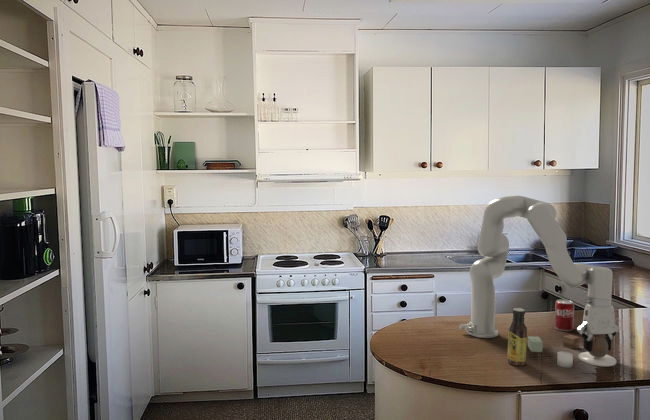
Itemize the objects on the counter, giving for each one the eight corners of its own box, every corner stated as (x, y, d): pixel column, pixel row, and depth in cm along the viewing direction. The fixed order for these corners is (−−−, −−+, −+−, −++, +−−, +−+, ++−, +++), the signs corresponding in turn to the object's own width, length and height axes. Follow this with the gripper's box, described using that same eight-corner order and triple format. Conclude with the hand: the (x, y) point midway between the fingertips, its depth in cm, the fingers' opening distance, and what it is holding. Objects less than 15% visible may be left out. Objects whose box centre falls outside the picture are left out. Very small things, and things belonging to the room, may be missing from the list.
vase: (605, 353, 186) (606, 330, 185) (609, 360, 179) (610, 336, 178) (584, 351, 188) (585, 328, 187) (587, 357, 181) (589, 334, 181)
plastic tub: (562, 368, 177) (562, 357, 177) (554, 362, 182) (554, 351, 181) (575, 367, 178) (576, 356, 177) (567, 361, 183) (567, 350, 182)
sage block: (531, 351, 193) (531, 341, 192) (527, 346, 199) (528, 336, 198) (542, 352, 192) (542, 342, 192) (538, 346, 198) (538, 336, 197)
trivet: (592, 367, 177) (593, 365, 177) (571, 354, 189) (571, 352, 189) (624, 365, 178) (624, 363, 178) (601, 352, 190) (601, 350, 190)
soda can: (575, 332, 214) (576, 304, 213) (556, 331, 215) (557, 303, 214) (570, 326, 221) (571, 299, 220) (552, 325, 223) (553, 298, 221)
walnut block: (572, 349, 195) (572, 339, 194) (563, 346, 198) (563, 336, 198) (578, 347, 196) (579, 337, 196) (569, 344, 200) (570, 334, 200)
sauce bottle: (504, 360, 184) (505, 306, 183) (520, 359, 185) (522, 306, 183) (512, 367, 178) (513, 311, 176) (529, 366, 178) (531, 311, 177)
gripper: (583, 305, 177) (581, 355, 178) (628, 303, 179) (626, 352, 181) (570, 299, 184) (568, 347, 186) (614, 297, 187) (611, 344, 188)
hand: (597, 349), depth 183 cm, fingers closed on vase, 6 cm apart
